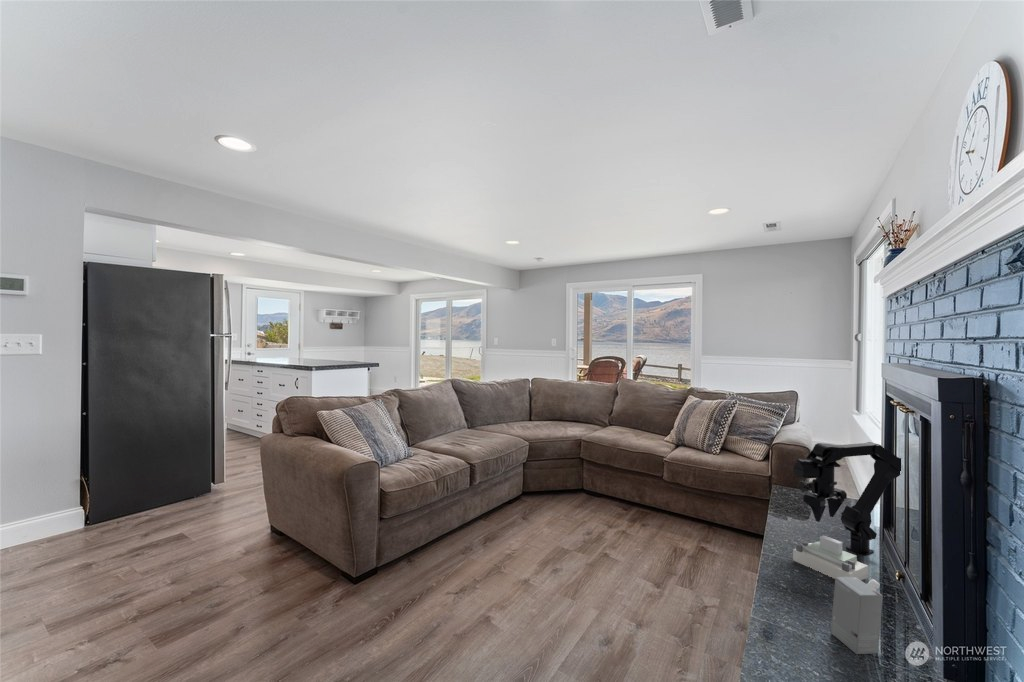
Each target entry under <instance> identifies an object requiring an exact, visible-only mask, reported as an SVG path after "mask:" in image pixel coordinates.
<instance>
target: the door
mask: <svg viewBox="0 0 1024 682" xmlns="http://www.w3.org/2000/svg"><path fill="white" fill-rule="evenodd" d="M811 543H812V544H810V545H807V546H804V545H802V543H801V544H800V543H799V544H800V545H802V549H803V550H805V551H806V552H809V553H811V554H813V555H816V556H818V557H821V558H823V559H825V560H828V561H830V562H832V563H835V564H837V565H840V566H842V563H846V564H848V560H851V561H853V562H857V561H858V558H857V557H858V556H857V555H856V554H853V553H850V552H848V551H845V550H843V541H841V540H837V539H834V538H832V537H829V536H827V535H821V536H819V540H818V541H816V542H811ZM849 569H852V565H850V564H849Z"/></svg>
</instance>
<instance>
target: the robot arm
mask: <svg viewBox="0 0 1024 682" xmlns="http://www.w3.org/2000/svg"><path fill="white" fill-rule="evenodd" d="M857 456H858V457H861V456H870V458H872V460H874V462H873V468H874V469H873V471H874V473H873V475H872V476H871V478H870V480H869V481H868V483H867V485H866V486H865V488H864V490H863V491H862V493H861V495H860V497H859V498H858V500H857V502H856V503H855V504H854V505H852V506H849V505H845V507H844V509H843V511H842V512H841V513H840V515H841V517H840V520H841V523H842V525H843V526H844V530H847V531H849V534H850V537H849V539H850V540H849V542H850V544H849V545H847V546H845V549H846V550H850V551H852V552H855V553H858V554H860V555H862V556H868V555H870V554H872V553H873V554H874V552H875V551H874V550H873V549H871V548H870V541H872V540H876V538H877V532H876V531H875V530H874V529H872V527H871V525H872V512H873V510H874V508H875V507H876V505H877V504H878V502H879V500H880V498H881V497H882V495H883V494H884V492H885V490H886V489H887V487H888V485H889V484H890V482H891V481H892V480H894V479H896V478H898V477H900V476H901V474H900V471H901V459H902V457H898V456H896V455H895V454H894V453H892V452H890V451H889V450H887V449H886V448H885V447H884V446H882V445H881V444H879V443H876V442H872V441H867V442H864V443H863V442H861V443H852V444H851V443H849V444H848V443H847V444H833V443H832V444H831V443H824V442H823V443H822V442H819V443H816V444H814V446H813V448H812V450H811V451H810V452H809V454H808V455H807V456H806V458H805V459H800V458H799V459H796V460H797V461H796V463H794V465H793V474H794V475H795V477H796V478H798V479H812V481H805V480H799V481H798V483H797V488H798V490H800V492H802V493H803V492H809V493H806V494H804V495H802V502H803V503H805V504H806V505H807V506H809V507H810V509H811V510H812V514H813V516H814V518H815V521H816V522H819V523H820V522H821V519H822V517H823V515H824V511H825V509H826V504H827V508H828V513H829V517H831V518H834V517H835V515H836V513H837V512H838V510H839V508H840V507H841V506H842V504H844V502H845V500H846V499H848V494H847V492H846V490H844V489H839V488H836V487H835V486H836V485H838V482H837V481H835V468H840V467H841V465H840V464H839V463H838V461H840V460H842V459H843V458H849V457H851V458H852V457H857ZM826 501H827V503H826Z"/></svg>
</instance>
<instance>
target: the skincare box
mask: <svg viewBox="0 0 1024 682" xmlns="http://www.w3.org/2000/svg"><path fill="white" fill-rule="evenodd" d="M883 597H884V595H883V594H882V593H880V592H879V591H877V590H874V589H873V588H872V587H871V586H870V585H868V583H865V582H864V581H863V580H859V579H858V578H856V577H835V579H834V588H833V601H832V602H833V603H832V612H831V613H832V614H831V625H830V634H831V635H833V636H834V637H835V638H836V639H838V640H839V641H840V642H841V643H843V644H844V645H845V647H847V648H848V649H850V650H851V651H852V652H854V654H856V655H866V654H867V655H868V654H869V655H870V654H872V655H873V654H874V655H875V654H879V647H880V635H881V632H880V631H881V621H882V610H883V600H884V599H883Z"/></svg>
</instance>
